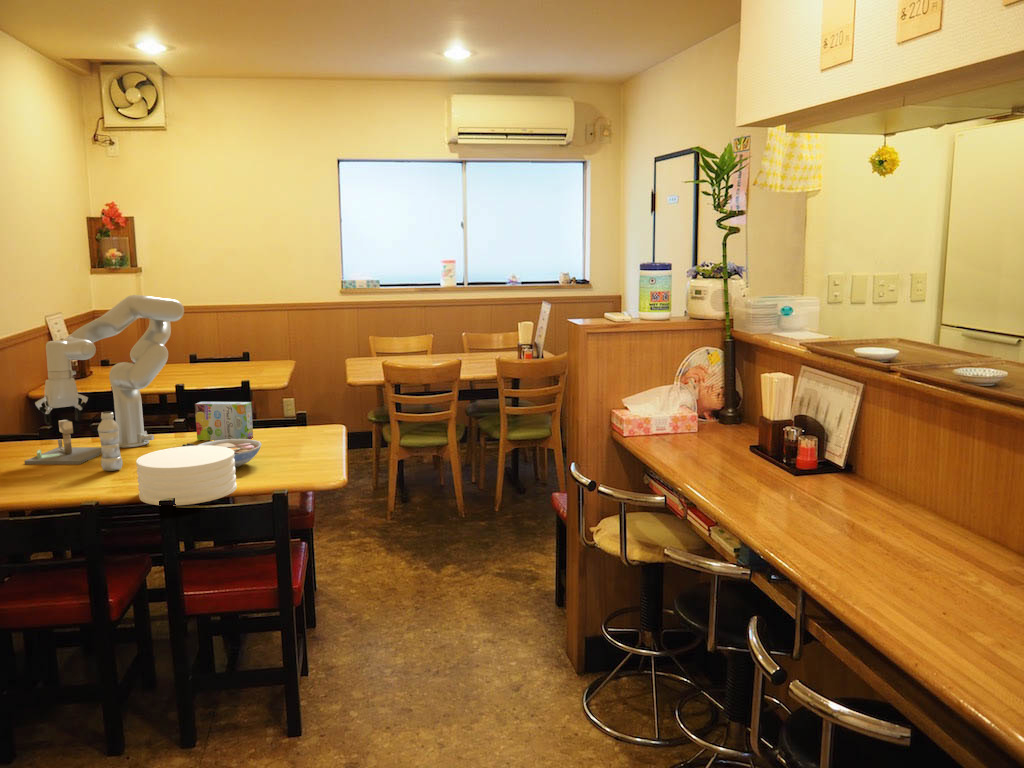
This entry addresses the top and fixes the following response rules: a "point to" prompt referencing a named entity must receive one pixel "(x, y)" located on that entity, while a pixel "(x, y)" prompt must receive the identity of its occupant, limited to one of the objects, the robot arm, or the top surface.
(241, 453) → the ramen bowl
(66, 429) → the dial handle
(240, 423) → the snack box
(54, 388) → the robot arm
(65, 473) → the top surface
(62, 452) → the dial board
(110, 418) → the plastic bottle
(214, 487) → the plate stack
